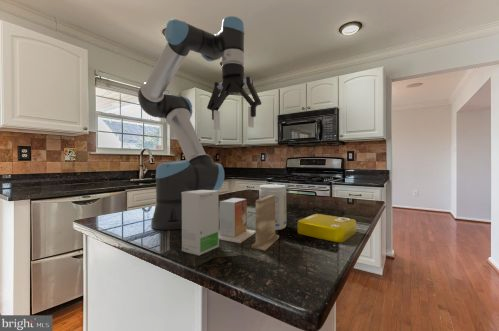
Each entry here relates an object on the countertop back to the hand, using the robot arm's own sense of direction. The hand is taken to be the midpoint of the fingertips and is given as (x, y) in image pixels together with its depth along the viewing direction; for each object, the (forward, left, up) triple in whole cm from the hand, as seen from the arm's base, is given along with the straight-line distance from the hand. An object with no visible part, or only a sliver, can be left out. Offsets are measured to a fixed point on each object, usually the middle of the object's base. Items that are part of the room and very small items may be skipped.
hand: (233, 128), depth 83 cm
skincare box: (+2, -21, -35) cm, 41 cm away
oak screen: (+16, -9, -35) cm, 39 cm away
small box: (+4, -7, -34) cm, 35 cm away
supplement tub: (+12, +7, -35) cm, 38 cm away
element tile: (+30, +9, -35) cm, 47 cm away
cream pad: (+4, -7, -35) cm, 36 cm away
